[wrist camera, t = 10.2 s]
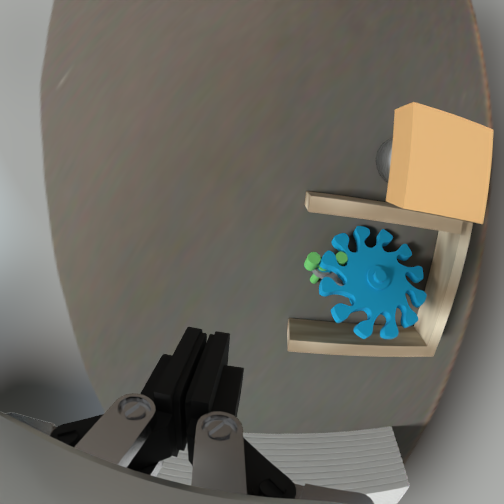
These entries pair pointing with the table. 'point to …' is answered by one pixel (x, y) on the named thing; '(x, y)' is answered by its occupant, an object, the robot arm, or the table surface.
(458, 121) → the block
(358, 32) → the table surface
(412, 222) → the chassis bay
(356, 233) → the gear
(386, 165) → the silver metal rounded piece
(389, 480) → the stack of papers
